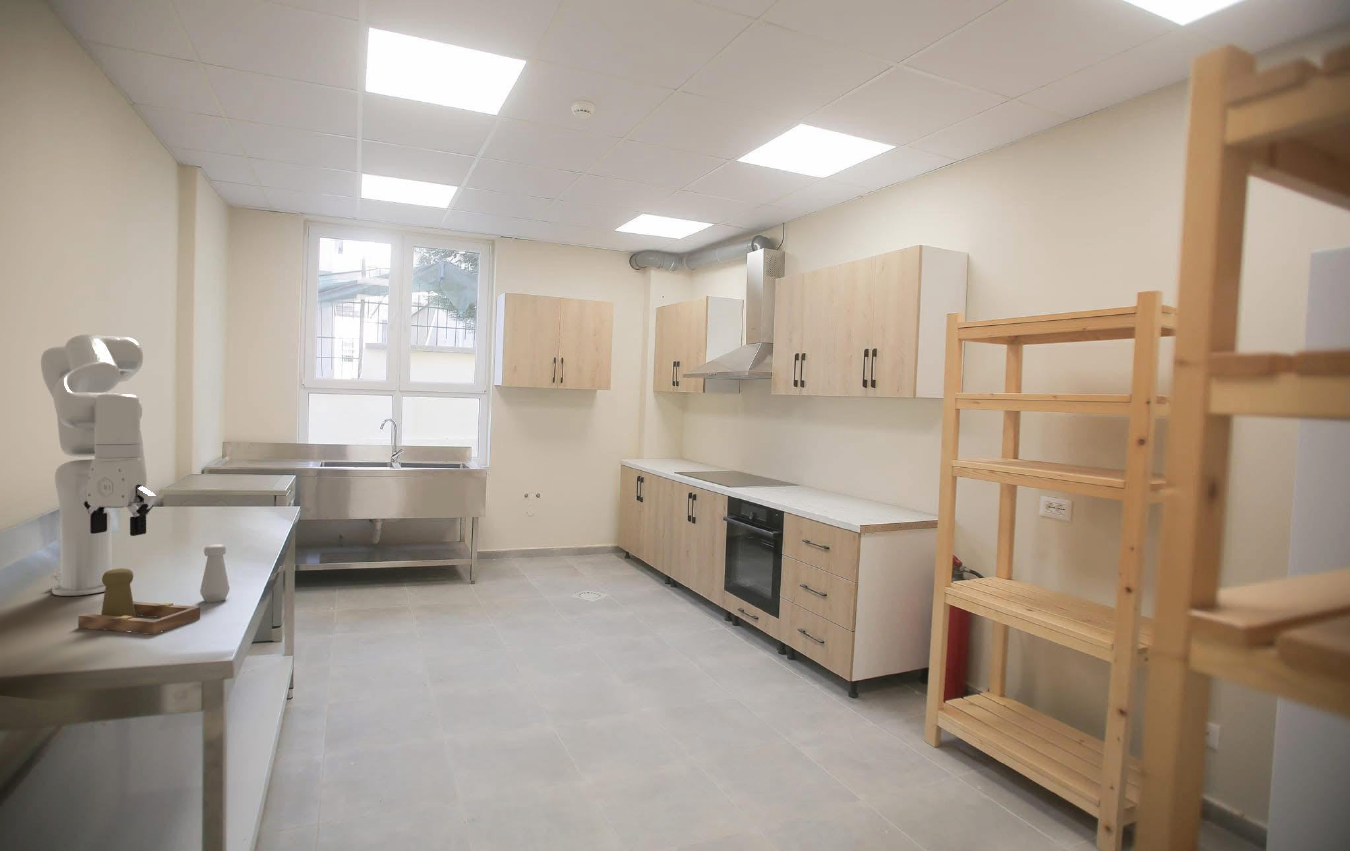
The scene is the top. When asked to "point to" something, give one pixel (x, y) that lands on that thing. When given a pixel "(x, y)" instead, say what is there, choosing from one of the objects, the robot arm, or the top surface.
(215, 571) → the salt shaker
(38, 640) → the top surface
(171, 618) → the wooden u-shaped frame
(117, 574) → the pepper shaker
